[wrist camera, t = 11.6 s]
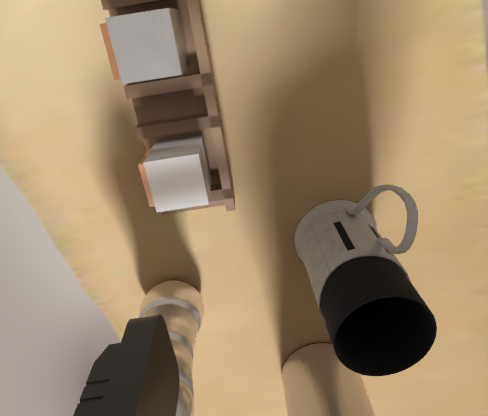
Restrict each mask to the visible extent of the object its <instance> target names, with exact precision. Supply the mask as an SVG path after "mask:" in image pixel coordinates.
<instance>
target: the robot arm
mask: <svg viewBox="0 0 488 416" xmlns="http://www.w3.org/2000/svg"><path fill="white" fill-rule="evenodd" d="M282 379H283V386H284V392H285V399H286V407H287V413H288V416H375V414H374V411H373V408H372V406H371V403H370V400H369V398H368V395H367V392H366V390H365V387H364V384H363V381H362V379H361V376H360V374H359V373H356V372H354V371H352V370H350V369H348V368H347V367H345V366H344V365H343V364H342V363H341V362H340V361H339V359H338V357H337V356H336V354H335V351H334V348H333V344H329V343H316V344H312V345H308V346H305V347H303V348H300V349H299V350H297V351H296V352H294V353H293V354H292V355H291V356H290V357H289V358H288V359H287V360H286V362H285V364H284V366H283V369H282ZM86 384H87V385H86V387H84V390H83V392H82V395H81V398H80V404H78V405H77V408H76V410H75V413H74V416H176V411H177V403H178V395H179V385H180V380H179V368H178V363H177V359H176V356H175V353H174V349H173V346H172V343H171V339H170V336H169V333H168V329H167V326H166V323H165V320H164V318H163V316H162V315H155V316H148V317H142V318H135V319H130V320H129V321H128V323H127V326H126V329H125V332H124V335H123V338H122V341H121V343H117V344H111V345H108V347H107V348H106V349H105V350H104V352H103V353H102V354H101V355H100V356H99V358H98V359H97V360H96V361H95V362H94V364H93V366H92V369H91V372H90V374H89V377H88V380H87V382H86Z"/></svg>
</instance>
